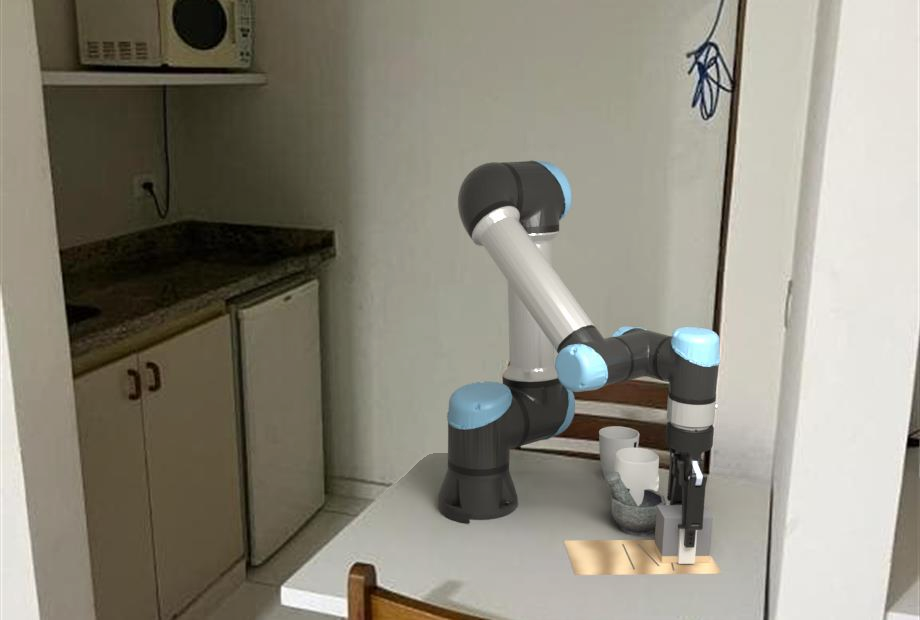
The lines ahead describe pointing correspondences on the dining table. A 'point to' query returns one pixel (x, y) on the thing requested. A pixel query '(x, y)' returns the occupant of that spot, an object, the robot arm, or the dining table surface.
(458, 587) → the dining table surface
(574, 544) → the board
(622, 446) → the cup
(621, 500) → the mortar and pestle
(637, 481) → the mug
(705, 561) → the block
